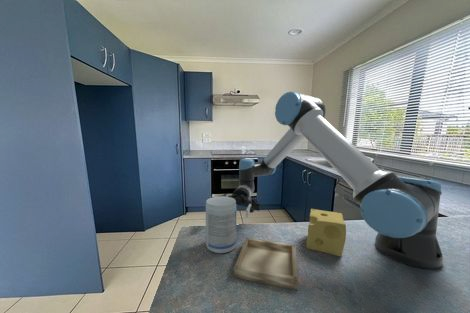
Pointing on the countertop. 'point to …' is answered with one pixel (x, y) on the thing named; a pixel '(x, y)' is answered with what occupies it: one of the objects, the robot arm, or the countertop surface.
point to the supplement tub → (221, 224)
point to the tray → (267, 263)
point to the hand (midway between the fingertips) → (228, 211)
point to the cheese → (326, 232)
